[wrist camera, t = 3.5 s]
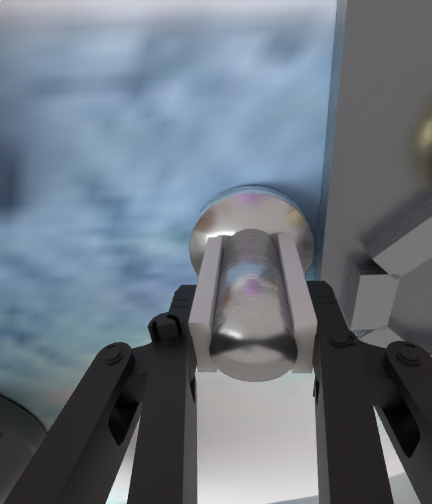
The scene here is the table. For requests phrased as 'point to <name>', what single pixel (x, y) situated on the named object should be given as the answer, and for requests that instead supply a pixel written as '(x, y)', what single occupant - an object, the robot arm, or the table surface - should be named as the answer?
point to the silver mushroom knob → (252, 279)
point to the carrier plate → (380, 172)
